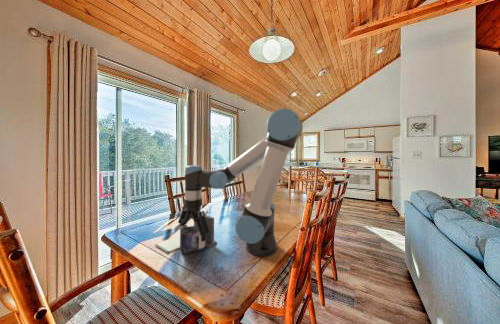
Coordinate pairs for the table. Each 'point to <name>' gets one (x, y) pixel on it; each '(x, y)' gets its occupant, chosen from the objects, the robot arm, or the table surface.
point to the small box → (189, 240)
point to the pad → (169, 245)
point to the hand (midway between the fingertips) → (192, 242)
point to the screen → (210, 235)
